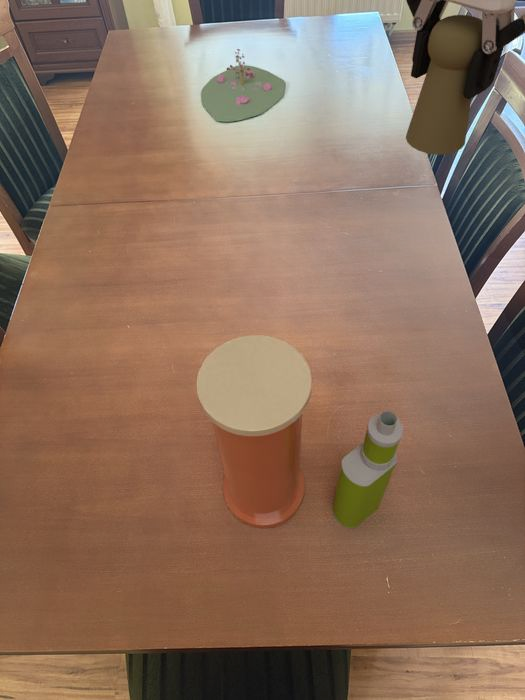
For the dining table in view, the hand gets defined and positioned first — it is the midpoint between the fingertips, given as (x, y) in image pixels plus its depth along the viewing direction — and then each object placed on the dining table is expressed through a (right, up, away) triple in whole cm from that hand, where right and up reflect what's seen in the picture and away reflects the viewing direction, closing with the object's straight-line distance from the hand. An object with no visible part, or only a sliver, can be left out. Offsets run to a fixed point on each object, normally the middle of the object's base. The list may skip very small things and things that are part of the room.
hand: (448, 80), depth 48 cm
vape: (-6, -45, +13) cm, 47 cm away
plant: (-23, +36, +75) cm, 86 cm away
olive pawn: (0, -4, +5) cm, 6 cm away
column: (-18, -43, +15) cm, 48 cm away
